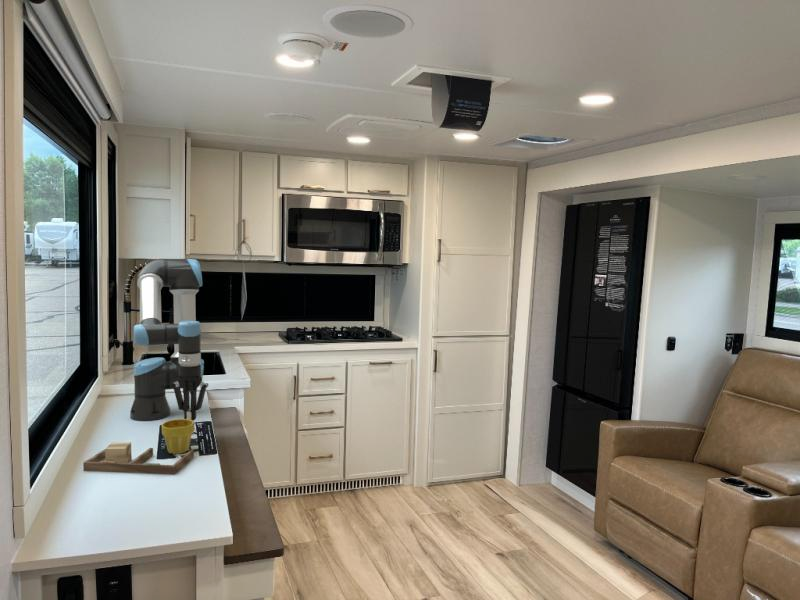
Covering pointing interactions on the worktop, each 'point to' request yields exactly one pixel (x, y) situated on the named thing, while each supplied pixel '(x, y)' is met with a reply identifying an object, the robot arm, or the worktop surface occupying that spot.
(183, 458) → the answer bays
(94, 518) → the worktop surface
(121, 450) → the oak block
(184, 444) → the plant pot
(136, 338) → the robot arm
